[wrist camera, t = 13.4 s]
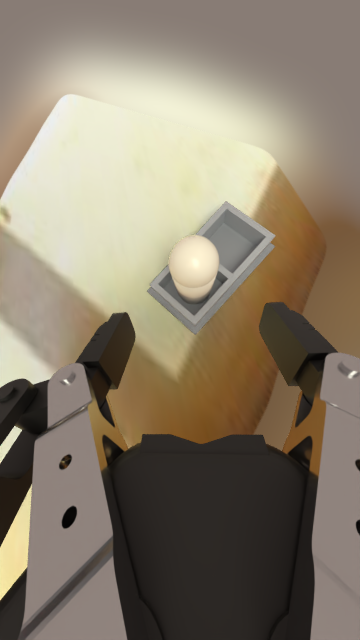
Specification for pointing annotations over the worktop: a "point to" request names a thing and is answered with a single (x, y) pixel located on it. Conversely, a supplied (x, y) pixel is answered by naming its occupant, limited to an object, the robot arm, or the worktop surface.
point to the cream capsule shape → (194, 268)
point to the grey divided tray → (234, 265)
